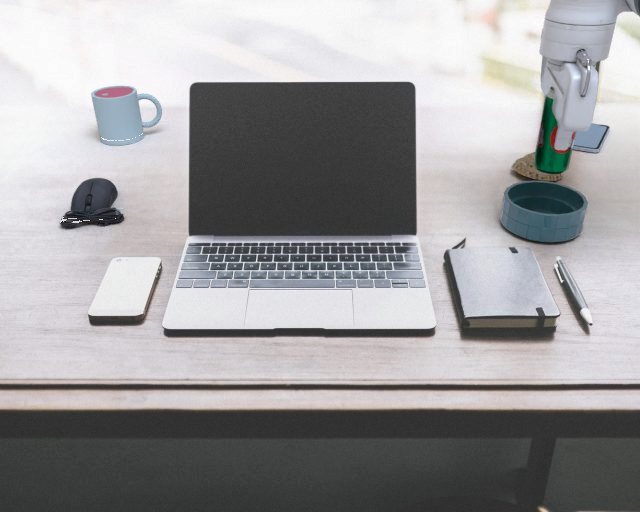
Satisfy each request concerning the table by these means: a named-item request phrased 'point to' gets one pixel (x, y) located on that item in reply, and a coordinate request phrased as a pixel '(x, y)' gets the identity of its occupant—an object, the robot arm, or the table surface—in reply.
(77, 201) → the computer mouse
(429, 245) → the table surface
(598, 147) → the smartphone
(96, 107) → the mug
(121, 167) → the table surface
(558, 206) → the bowl
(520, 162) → the seashell
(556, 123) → the soda can
